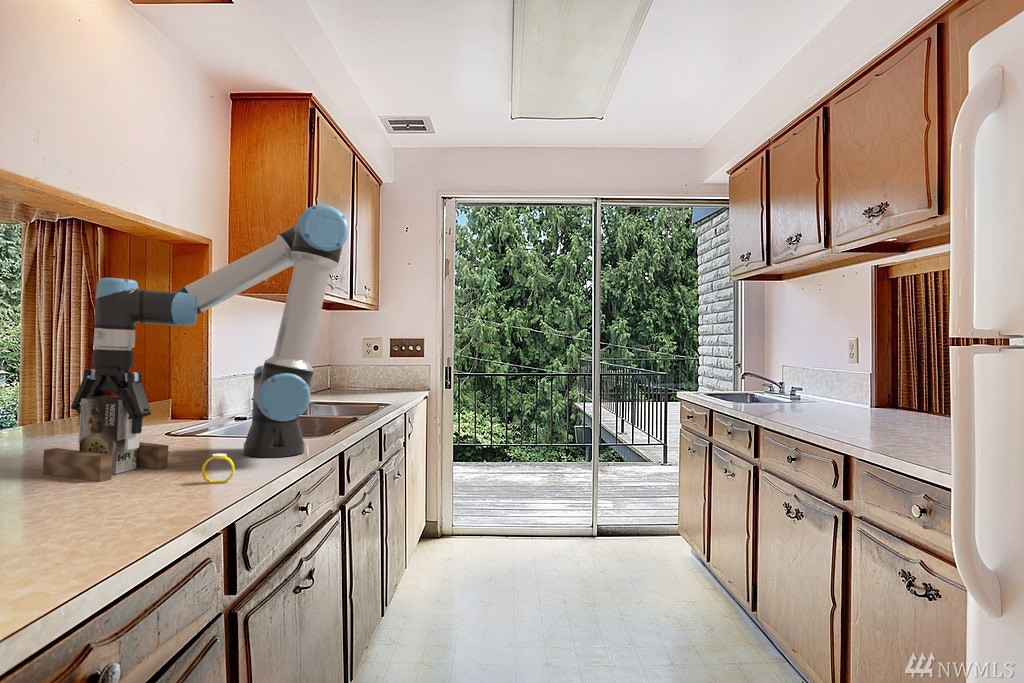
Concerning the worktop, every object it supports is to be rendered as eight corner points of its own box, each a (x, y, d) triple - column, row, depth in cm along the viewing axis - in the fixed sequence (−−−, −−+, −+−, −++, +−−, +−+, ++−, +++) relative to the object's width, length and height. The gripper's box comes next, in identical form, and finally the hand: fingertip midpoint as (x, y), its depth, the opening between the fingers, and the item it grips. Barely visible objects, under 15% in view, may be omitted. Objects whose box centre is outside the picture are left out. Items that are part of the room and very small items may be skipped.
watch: (233, 482, 124) (237, 454, 124) (231, 485, 121) (234, 456, 121) (202, 480, 122) (206, 452, 122) (199, 483, 119) (203, 454, 120)
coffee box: (137, 468, 131) (141, 396, 131) (115, 474, 124) (119, 399, 124) (100, 466, 132) (103, 394, 132) (76, 472, 125) (80, 396, 125)
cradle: (167, 467, 133) (168, 445, 133) (99, 481, 118) (100, 457, 118) (114, 460, 138) (115, 439, 138) (42, 473, 123) (43, 449, 123)
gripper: (54, 346, 128) (49, 442, 128) (142, 351, 121) (136, 453, 121) (88, 346, 135) (83, 438, 135) (172, 351, 128) (167, 448, 128)
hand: (108, 445), depth 128 cm, fingers open, 13 cm apart
